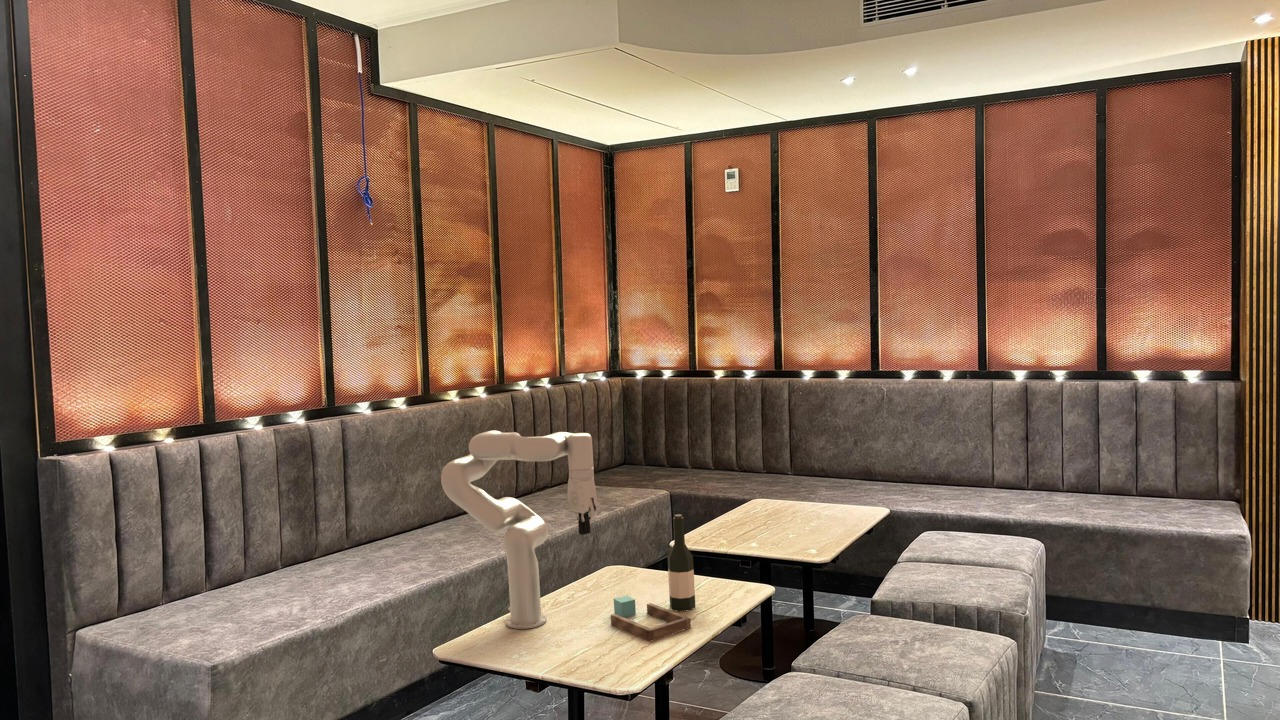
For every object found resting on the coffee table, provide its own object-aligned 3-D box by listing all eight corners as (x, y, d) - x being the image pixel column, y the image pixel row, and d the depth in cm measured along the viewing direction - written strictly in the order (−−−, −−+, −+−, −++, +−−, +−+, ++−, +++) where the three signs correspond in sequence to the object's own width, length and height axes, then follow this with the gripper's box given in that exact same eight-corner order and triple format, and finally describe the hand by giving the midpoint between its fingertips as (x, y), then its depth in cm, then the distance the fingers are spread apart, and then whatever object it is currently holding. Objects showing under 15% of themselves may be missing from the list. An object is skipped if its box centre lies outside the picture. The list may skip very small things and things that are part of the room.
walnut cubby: (611, 624, 269) (610, 614, 269) (650, 612, 278) (650, 602, 278) (650, 641, 253) (649, 631, 253) (690, 627, 263) (690, 618, 263)
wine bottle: (667, 611, 279) (662, 518, 277) (672, 602, 287) (668, 512, 285) (693, 611, 277) (688, 518, 275) (697, 603, 285) (693, 512, 283)
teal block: (614, 614, 279) (613, 598, 279) (628, 610, 281) (627, 595, 281) (622, 618, 274) (621, 602, 274) (635, 615, 277) (635, 599, 277)
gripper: (558, 473, 269) (561, 531, 270) (584, 478, 257) (587, 540, 258) (578, 469, 274) (581, 527, 274) (605, 474, 262) (608, 535, 262)
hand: (584, 533), depth 266 cm, fingers closed
